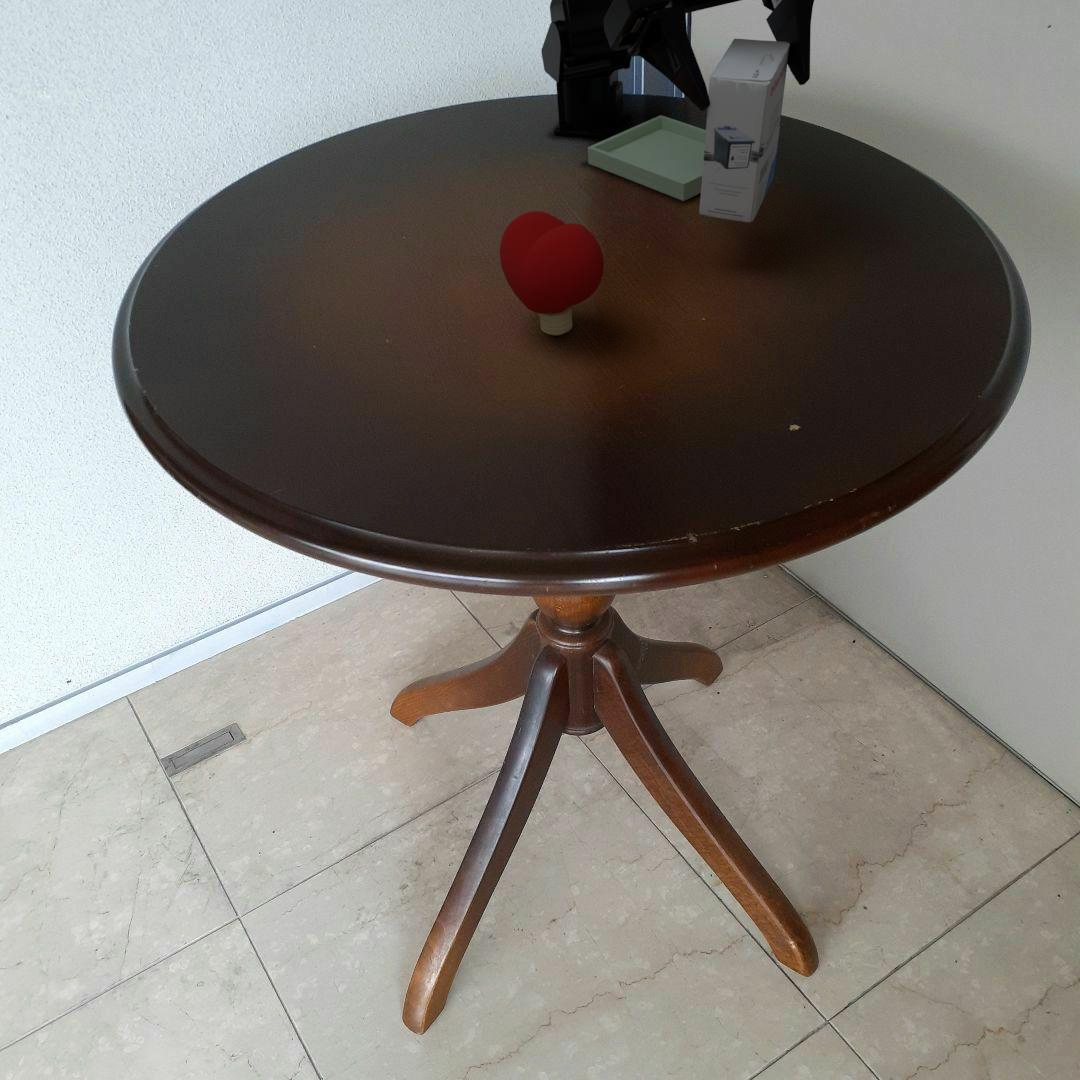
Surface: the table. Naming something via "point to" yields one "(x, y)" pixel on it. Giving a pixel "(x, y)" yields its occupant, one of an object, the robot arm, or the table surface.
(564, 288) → the red heart on stand
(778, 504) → the table surface
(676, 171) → the tray
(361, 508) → the table surface
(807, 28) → the robot arm
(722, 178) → the ink box
